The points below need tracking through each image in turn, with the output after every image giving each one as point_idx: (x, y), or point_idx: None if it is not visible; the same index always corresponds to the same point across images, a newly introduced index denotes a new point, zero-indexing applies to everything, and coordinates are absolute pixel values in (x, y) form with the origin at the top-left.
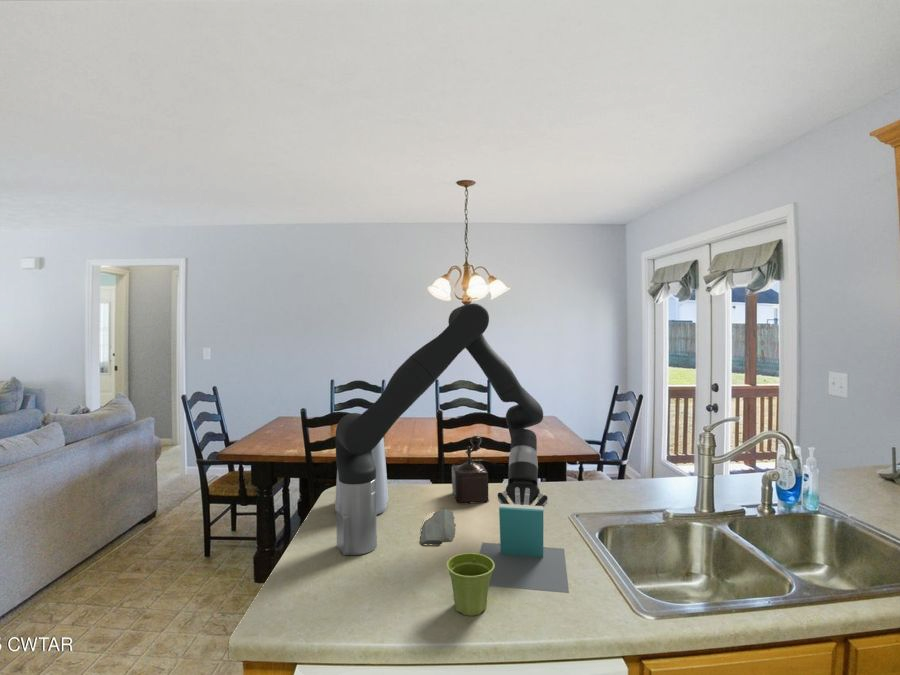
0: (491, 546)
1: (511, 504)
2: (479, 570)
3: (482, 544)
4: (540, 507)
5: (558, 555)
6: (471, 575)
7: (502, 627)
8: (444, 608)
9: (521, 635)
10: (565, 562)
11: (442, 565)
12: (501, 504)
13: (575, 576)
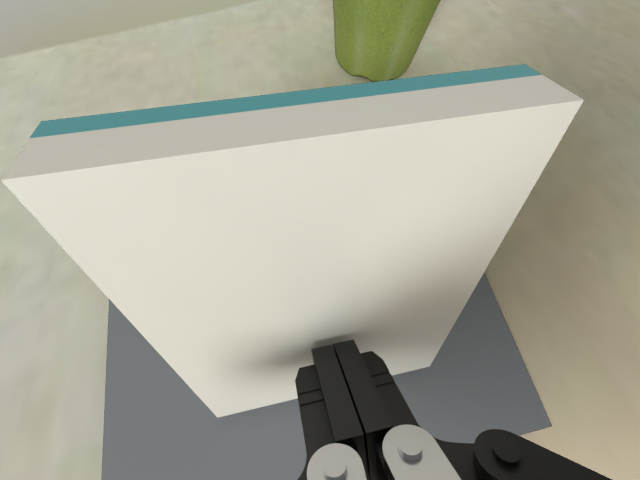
0: (488, 395)
1: (449, 116)
2: (384, 10)
3: (538, 401)
4: (58, 155)
5: (138, 431)
6: (404, 28)
7: (280, 23)
8: (424, 41)
9: (237, 14)
10: (107, 363)
11: (563, 200)
12: (553, 95)
13: (81, 289)
